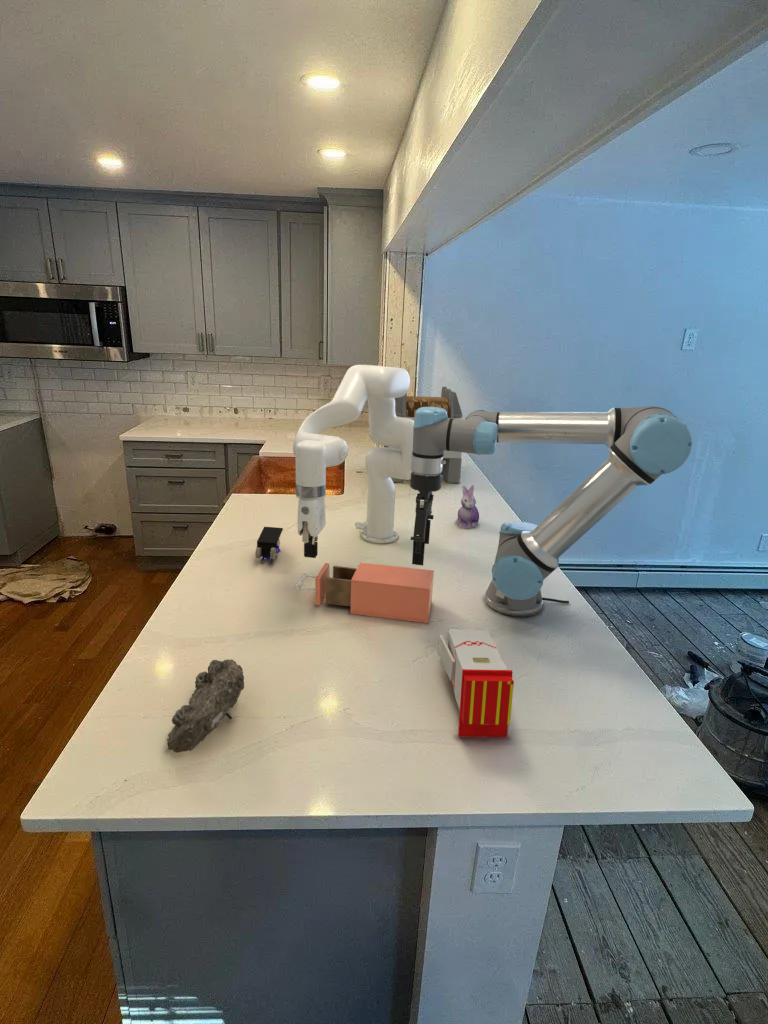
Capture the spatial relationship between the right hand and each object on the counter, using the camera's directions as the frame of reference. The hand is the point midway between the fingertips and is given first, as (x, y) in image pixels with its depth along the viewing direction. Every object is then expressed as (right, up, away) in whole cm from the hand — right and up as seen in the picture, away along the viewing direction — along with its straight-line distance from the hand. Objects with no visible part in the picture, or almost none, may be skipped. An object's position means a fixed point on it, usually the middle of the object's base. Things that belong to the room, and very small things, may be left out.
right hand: (420, 553), depth 144 cm
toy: (+9, -27, -25) cm, 38 cm away
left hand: (-29, -1, +6) cm, 29 cm away
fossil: (-42, -29, -35) cm, 62 cm away
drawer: (-20, -13, +8) cm, 25 cm away
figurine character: (-45, -4, +34) cm, 56 cm away
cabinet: (-7, -15, +7) cm, 18 cm away
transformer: (+8, +29, +131) cm, 135 cm away
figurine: (+22, +6, +68) cm, 71 cm away
